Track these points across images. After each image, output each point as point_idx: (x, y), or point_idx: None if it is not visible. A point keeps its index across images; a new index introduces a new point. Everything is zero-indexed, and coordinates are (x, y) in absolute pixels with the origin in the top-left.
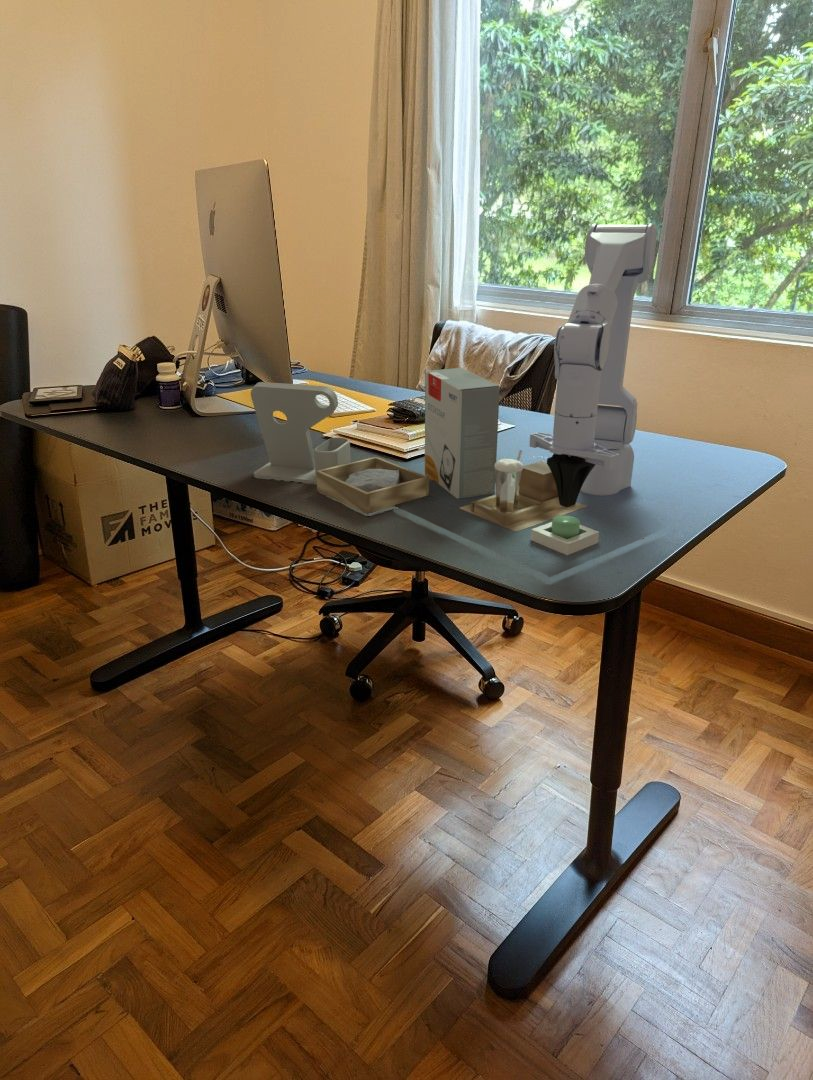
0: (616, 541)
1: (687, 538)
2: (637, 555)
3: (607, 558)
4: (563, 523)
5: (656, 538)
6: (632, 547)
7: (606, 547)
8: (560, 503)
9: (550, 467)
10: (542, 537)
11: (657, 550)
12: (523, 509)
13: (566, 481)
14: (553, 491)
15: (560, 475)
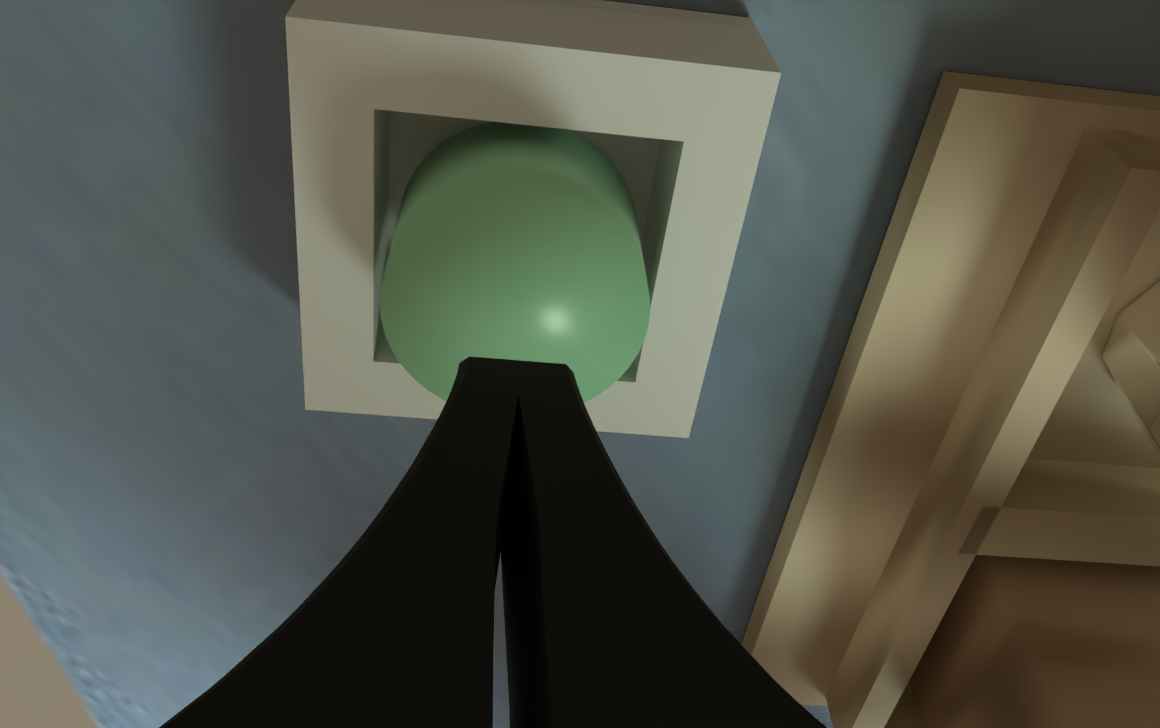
0: (317, 474)
1: (99, 708)
2: (67, 395)
3: (145, 227)
4: (487, 241)
5: (198, 628)
6: (185, 466)
7: (291, 367)
8: (551, 370)
9: (779, 720)
10: (627, 43)
11: (60, 520)
12: (1053, 383)
13: (407, 577)
14: (964, 695)
15: (543, 641)
